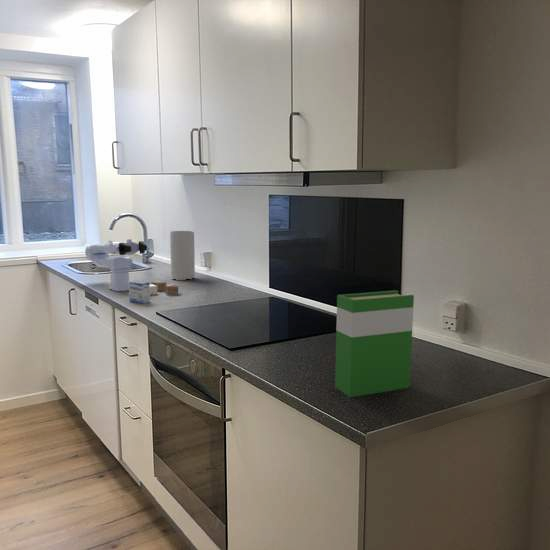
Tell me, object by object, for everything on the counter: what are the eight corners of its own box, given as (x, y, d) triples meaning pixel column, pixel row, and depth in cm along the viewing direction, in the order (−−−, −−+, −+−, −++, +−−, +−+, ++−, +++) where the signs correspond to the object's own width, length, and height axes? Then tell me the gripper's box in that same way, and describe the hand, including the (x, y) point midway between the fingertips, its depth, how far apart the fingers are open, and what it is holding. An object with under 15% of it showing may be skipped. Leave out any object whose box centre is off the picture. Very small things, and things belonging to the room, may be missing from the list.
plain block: (142, 293, 273) (142, 285, 273) (152, 292, 276) (151, 284, 276) (147, 295, 269) (147, 286, 269) (157, 294, 273) (157, 285, 272)
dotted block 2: (164, 293, 275) (164, 284, 274) (175, 292, 277) (175, 284, 276) (167, 295, 270) (167, 286, 269) (178, 294, 272) (178, 285, 271)
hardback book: (392, 378, 158) (396, 290, 154) (409, 387, 151) (413, 295, 147) (334, 387, 151) (337, 295, 147) (349, 397, 144) (352, 300, 140)
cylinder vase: (173, 276, 322) (172, 230, 318) (196, 276, 321) (196, 231, 318) (168, 280, 310) (167, 232, 306) (192, 280, 309) (191, 233, 305)
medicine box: (129, 301, 254) (128, 282, 253) (136, 300, 258) (135, 280, 257) (143, 303, 251) (142, 283, 250) (150, 302, 255) (149, 282, 253)
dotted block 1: (151, 290, 282) (151, 281, 282) (159, 289, 286) (159, 280, 285) (158, 291, 279) (158, 282, 278) (166, 290, 283) (166, 281, 282)
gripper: (109, 240, 270) (122, 240, 259) (139, 238, 279) (152, 238, 268) (110, 255, 270) (123, 256, 260) (140, 253, 279) (153, 253, 269)
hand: (138, 248), depth 264 cm, fingers open, 7 cm apart
